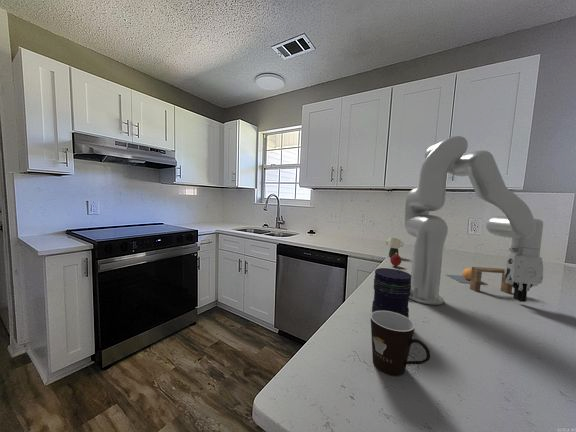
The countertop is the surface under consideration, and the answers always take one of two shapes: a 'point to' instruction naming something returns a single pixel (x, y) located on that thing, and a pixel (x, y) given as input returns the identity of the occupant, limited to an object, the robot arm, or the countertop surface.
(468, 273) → the ball
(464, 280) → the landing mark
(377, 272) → the storage jar
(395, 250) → the character mug
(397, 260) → the onion
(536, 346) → the countertop surface
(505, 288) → the bridge
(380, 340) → the coffee mug
